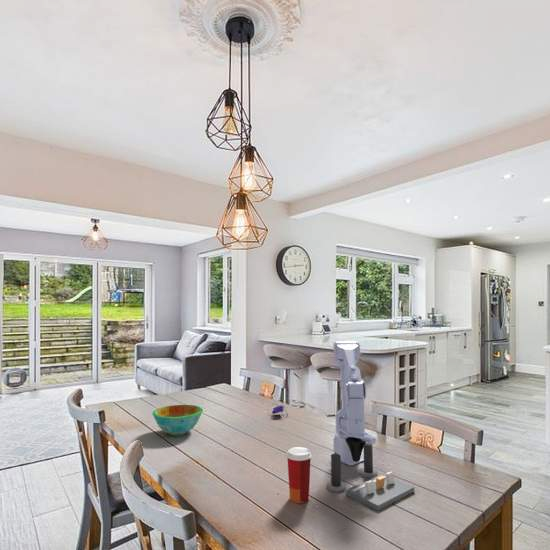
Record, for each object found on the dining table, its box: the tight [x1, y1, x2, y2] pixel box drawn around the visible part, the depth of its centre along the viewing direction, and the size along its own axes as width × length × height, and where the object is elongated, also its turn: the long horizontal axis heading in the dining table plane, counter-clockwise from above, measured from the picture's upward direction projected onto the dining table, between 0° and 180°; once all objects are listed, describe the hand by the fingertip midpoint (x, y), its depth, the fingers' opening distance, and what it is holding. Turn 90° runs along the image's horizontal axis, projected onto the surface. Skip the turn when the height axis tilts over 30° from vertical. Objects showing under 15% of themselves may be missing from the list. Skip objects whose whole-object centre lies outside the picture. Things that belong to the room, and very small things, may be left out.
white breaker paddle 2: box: [384, 471, 395, 484], centre depth 124 cm, size 1×3×3 cm, turn 128°
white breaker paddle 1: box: [364, 479, 375, 494], centre depth 117 cm, size 1×3×3 cm, turn 128°
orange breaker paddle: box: [375, 476, 385, 489], centre depth 121 cm, size 1×3×3 cm, turn 128°
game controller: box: [267, 403, 289, 417], centre depth 203 cm, size 10×8×10 cm
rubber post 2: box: [359, 442, 379, 479], centre depth 134 cm, size 6×6×10 cm
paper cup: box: [285, 446, 312, 504], centre depth 118 cm, size 8×8×14 cm
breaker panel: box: [345, 473, 415, 512], centre depth 120 cm, size 12×18×2 cm, turn 128°
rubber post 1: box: [326, 453, 347, 493], centre depth 124 cm, size 6×6×10 cm
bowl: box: [151, 404, 204, 437], centre depth 177 cm, size 22×22×10 cm
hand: (356, 460), depth 128 cm, fingers closed
